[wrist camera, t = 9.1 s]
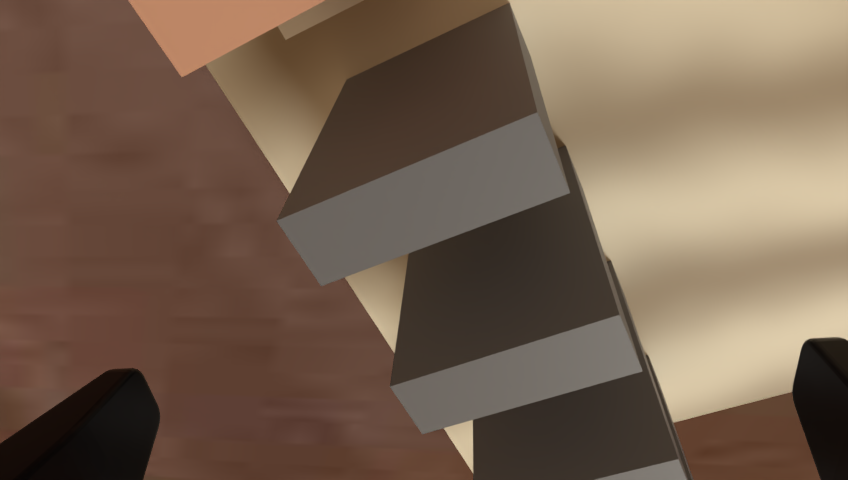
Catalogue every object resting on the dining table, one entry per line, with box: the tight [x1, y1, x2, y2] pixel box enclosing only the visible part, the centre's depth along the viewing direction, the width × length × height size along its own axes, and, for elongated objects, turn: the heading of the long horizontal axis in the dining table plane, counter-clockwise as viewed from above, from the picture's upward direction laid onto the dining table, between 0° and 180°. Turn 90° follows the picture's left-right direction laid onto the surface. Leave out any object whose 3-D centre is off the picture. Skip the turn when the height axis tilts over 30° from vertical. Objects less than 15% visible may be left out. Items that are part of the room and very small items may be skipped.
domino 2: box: [390, 145, 642, 434], centre depth 17 cm, size 2×5×8 cm, turn 116°
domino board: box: [206, 0, 848, 472], centre depth 19 cm, size 24×22×1 cm
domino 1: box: [277, 3, 570, 286], centre depth 15 cm, size 2×5×8 cm, turn 116°
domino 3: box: [473, 260, 688, 480], centre depth 19 cm, size 2×5×8 cm, turn 116°
